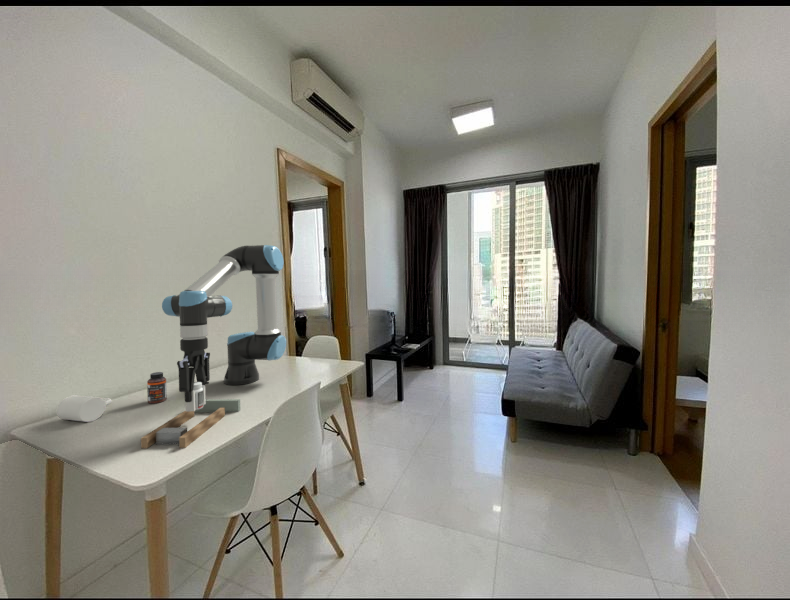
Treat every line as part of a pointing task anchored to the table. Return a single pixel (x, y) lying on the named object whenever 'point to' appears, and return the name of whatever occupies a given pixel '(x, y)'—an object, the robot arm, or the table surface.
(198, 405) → the pill bottle
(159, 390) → the supplement bottle
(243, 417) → the table surface
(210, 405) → the door edge rail
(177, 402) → the table surface
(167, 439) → the tall gray brick
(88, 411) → the mug
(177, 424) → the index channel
